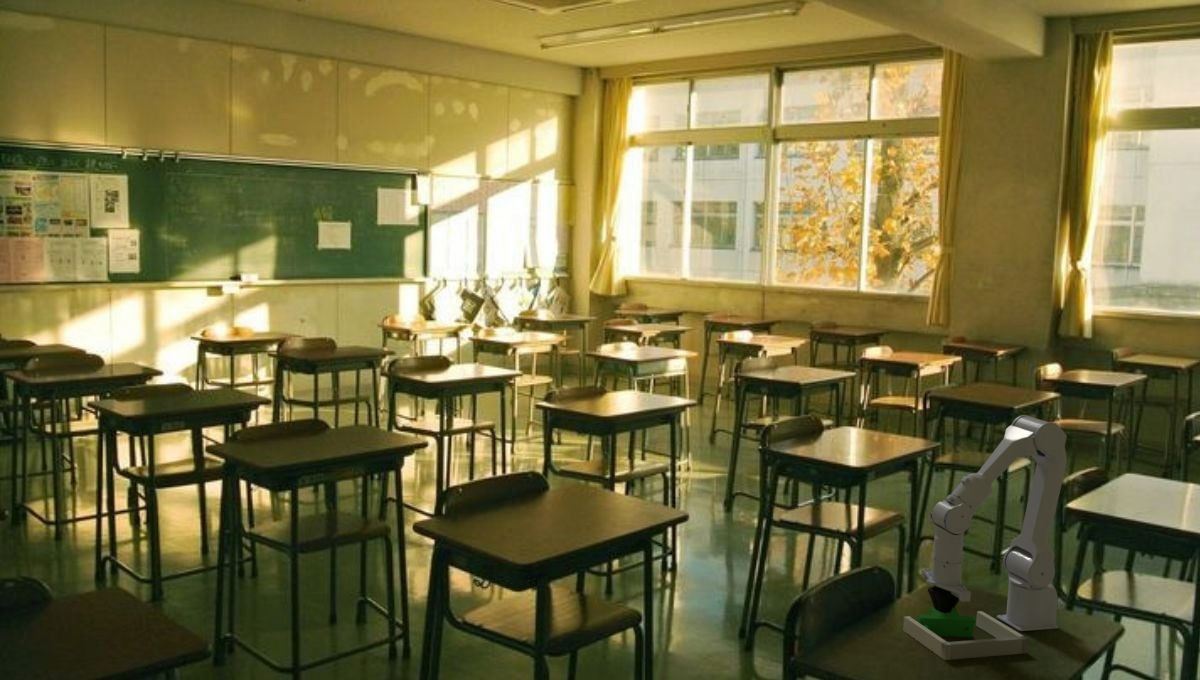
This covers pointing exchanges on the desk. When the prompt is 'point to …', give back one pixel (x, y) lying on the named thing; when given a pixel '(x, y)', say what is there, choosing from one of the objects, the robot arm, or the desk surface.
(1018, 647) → the docking bay
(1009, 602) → the robot arm
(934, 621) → the green flat block
